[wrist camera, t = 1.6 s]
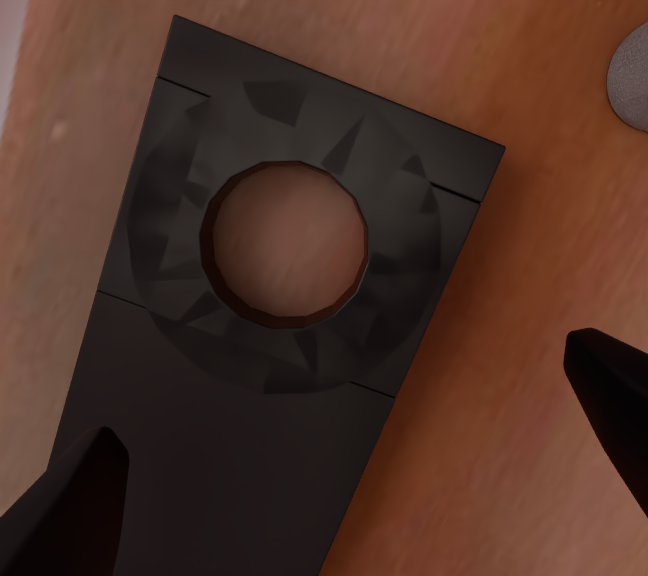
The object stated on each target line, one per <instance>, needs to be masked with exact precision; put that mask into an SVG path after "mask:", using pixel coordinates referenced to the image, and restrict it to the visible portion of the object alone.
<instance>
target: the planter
mask: <svg viewBox="0 0 648 576" xmlns="http://www.w3.org/2000/svg"><path fill="white" fill-rule="evenodd" d="M607 92H608V97H609V100H610V103H611V105H612V107H613V109H614V111H615V112H616V114H617V115H618V116H619V117H620V118H621V119H622V120H623V121H624V122H625V123H627V124H628V125H630V126H632V127H634V128H636V129H639V130H643V131H648V22H646V23H644V24H643V25H641V26H640V27H638V28H637V29H635V30H634V31H633V32H632V33H630V34H629V35H628V36H627V37H626V38H625V39H624V40H623V41H622V43H621V44H620V45H619V47H618V48H617V50H616V52H615V53H614V55H613V57H612V60H611V63H610V66H609V69H608V74H607Z"/></svg>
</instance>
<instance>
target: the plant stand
mask: <svg viewBox="0 0 648 576" xmlns="http://www.w3.org/2000/svg"><path fill="white" fill-rule="evenodd" d="M157 76H158V77H156V79H155V83H154V86H153V90H152V93H151V97H150V101H149V104H148V108H147V111H146V115H145V119H144V122H143V126H142V129H141V133H140V136H139V140H138V144H137V147H136V151H135V154H134V158H133V162H132V165H131V169H130V172H129V176H128V180H127V183H126V187H125V190H124V194H123V197H122V201H121V205H120V208H119V212H118V215H117V219H116V223H115V226H114V230H113V233H112V237H111V240H110V244H109V248H108V251H107V255H106V258H105V262H104V266H103V269H102V273H101V276H100V280H99V283H98V287H97V291H96V294H95V298H94V302H93V305H92V309H91V312H90V316H89V320H88V323H87V327H86V330H85V334H84V337H83V341H82V345H81V348H80V352H79V355H78V359H77V363H76V366H75V370H74V373H73V377H72V381H71V384H70V388H69V391H68V395H67V398H66V402H65V406H64V409H63V413H62V416H61V420H60V424H59V427H58V431H57V434H56V438H55V441H54V445H53V449H52V452H51V456H50V459H49V463H48V467H47V469H48V468H49V467H50V466H51V465H52V464H53V463H54V462H55V461H56V460H57V459H58V458H59V457H60V456H61V455H62V454H63V453H64V452H65V451H66V450H67V449H68V448H69V447H70V446H71V445H72V444H73V443H74V442H75V441H76V440H77V439H78V438H79V437H80V436H81V435H82V434H83V433H84V432H85V431H86V430H89V429H93V428H97V427H102V426H108V427H110V428H111V429H112V430H113V431H114V432H115V434H116V435H117V436H118V438H119V439H120V440H121V442H122V443H123V444H124V446H125V447H126V448H127V450H128V453H129V458H130V463H129V472H128V480H127V489H126V497H125V506H124V515H123V523H122V530H121V537H120V542H119V548H118V553H117V557H116V562H115V566H114V571H113V575H112V576H318V574H319V572H320V569H321V567H322V565H323V563H324V560H325V558H326V556H327V554H328V551H329V549H330V547H331V545H332V542H333V540H334V538H335V535H336V533H337V531H338V529H339V526H340V524H341V522H342V520H343V517H344V515H345V513H346V510H347V508H348V506H349V504H350V501H351V499H352V497H353V495H354V492H355V490H356V488H357V486H358V483H359V481H360V479H361V476H362V474H363V472H364V470H365V467H366V465H367V463H368V461H369V458H370V456H371V454H372V451H373V449H374V447H375V445H376V442H377V440H378V438H379V436H380V433H381V431H382V429H383V427H384V424H385V422H386V420H387V417H388V415H389V413H390V411H391V408H392V406H393V404H394V402H395V397H396V396H397V394H398V392H399V390H400V387H401V385H402V383H403V381H404V378H405V376H406V374H407V372H408V369H409V367H410V365H411V362H412V360H413V358H414V356H415V353H416V351H417V349H418V347H419V344H420V342H421V340H422V338H423V335H424V333H425V331H426V328H427V326H428V324H429V322H430V319H431V317H432V315H433V313H434V310H435V308H436V306H437V303H438V301H439V299H440V297H441V294H442V292H443V290H444V288H445V285H446V283H447V281H448V279H449V276H450V274H451V272H452V269H453V267H454V265H455V263H456V260H457V258H458V256H459V254H460V251H461V249H462V247H463V244H464V242H465V240H466V238H467V235H468V233H469V231H470V229H471V226H472V224H473V222H474V220H475V217H476V215H477V213H478V210H479V208H480V206H481V204H480V203H481V202H482V201H483V199H484V197H485V195H486V192H487V190H488V188H489V186H490V183H491V181H492V179H493V177H494V174H495V172H496V170H497V167H498V165H499V163H500V161H501V158H502V156H503V154H504V152H505V149H506V147H505V146H503V145H501V144H498V143H496V142H493V141H491V140H488V139H486V138H483V137H481V136H478V135H476V134H473V133H471V132H468V131H466V130H463V129H461V128H458V127H456V126H453V125H451V124H448V123H446V122H443V121H441V120H438V119H436V118H433V117H431V116H428V115H426V114H423V113H421V112H418V111H416V110H413V109H411V108H408V107H406V106H403V105H401V104H398V103H396V102H393V101H391V100H388V99H386V98H383V97H381V96H378V95H376V94H373V93H371V92H368V91H366V90H363V89H361V88H358V87H356V86H353V85H351V84H348V83H346V82H343V81H341V80H338V79H336V78H333V77H331V76H328V75H326V74H323V73H321V72H318V71H316V70H313V69H311V68H308V67H306V66H303V65H301V64H298V63H296V62H293V61H291V60H288V59H286V58H283V57H281V56H278V55H276V54H273V53H271V52H268V51H266V50H263V49H261V48H258V47H256V46H253V45H251V44H248V43H246V42H243V41H241V40H238V39H236V38H233V37H231V36H228V35H226V34H223V33H221V32H218V31H216V30H213V29H211V28H208V27H206V26H203V25H201V24H198V23H196V22H193V21H191V20H188V19H186V18H183V17H181V16H178V15H174V16H173V19H172V23H171V27H170V30H169V34H168V37H167V41H166V45H165V48H164V52H163V55H162V59H161V62H160V66H159V70H158V73H157ZM284 165H302V166H304V167H307V168H309V169H312V170H315V171H317V172H320V173H322V174H325V175H328V176H330V177H331V178H332V179H333V180H334V181H335V182H336V183H337V184H338V185H339V186H340V187H341V188H342V189H343V190H344V191H345V192H346V193H347V194H348V195H349V196H350V197H351V198H352V200H353V202H354V205H355V207H356V209H357V211H358V214H359V216H360V218H361V221H362V223H363V225H364V258H363V261H362V263H361V266H360V268H359V271H358V273H357V276H356V278H355V281H354V283H353V285H352V286H351V287H350V288H349V289H348V290H347V291H346V292H345V293H344V294H343V295H342V296H341V297H340V298H339V299H338V300H337V301H336V302H335V303H334V304H333V305H331V306H329V307H326V308H324V309H322V310H319V311H317V312H315V313H313V314H310V315H308V316H299V317H276V316H273V315H270V314H267V313H265V312H262V311H259V310H257V309H254V308H251V307H249V306H248V305H247V304H246V303H245V302H244V301H243V300H241V299H240V298H239V297H238V296H237V295H236V294H235V293H234V292H232V291H231V290H230V289H229V288H228V287H227V285H226V283H225V281H224V279H223V277H222V275H221V273H220V271H219V269H218V267H217V265H216V263H215V261H214V250H213V237H212V229H213V226H214V223H215V220H216V217H217V214H218V211H219V208H220V205H221V202H222V201H223V200H224V198H225V197H226V196H227V195H228V194H229V193H230V192H231V190H232V189H233V188H234V187H235V186H236V185H237V184H238V182H239V181H240V180H241V179H243V178H245V177H247V176H249V175H251V174H253V173H255V172H258V171H260V170H262V169H264V168H266V167H268V166H284Z"/></svg>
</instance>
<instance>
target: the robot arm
mask: <svg viewBox="0 0 648 576" xmlns="http://www.w3.org/2000/svg"><path fill="white" fill-rule="evenodd" d="M563 365H564V371H565V374H566V376H567V378H568V380H569V382H570V384H571V386H572V388H573V390H574V392H575V394H576V396H577V398H578V400H579V402H580V404H581V406H582V408H583V410H584V412H585V414H586V416H587V418H588V420H589V422H590V424H591V426H592V428H593V430H594V432H595V434H596V436H597V438H598V440H599V442H600V443H601V445H602V447H603V449H604V451H605V452H606V454H607V455H608V457H609V459H610V460H611V462H612V463H613V465H614V467H615V468H616V470H617V471H618V473H619V474H620V476H621V477H622V479H623V481H624V482H625V484H626V485H627V487H628V488H629V490H630V491H631V493H632V495H633V496H634V498H635V499H636V501H637V502H638V504H639V505H640V507H641V508H642V510H643V512H644V513H645V515H646V516H647V518H648V354H647V353H645V352H643V351H641V350H639V349H637V348H634V347H632V346H630V345H628V344H626V343H624V342H622V341H620V340H618V339H616V338H614V337H612V336H610V335H607V334H605V333H603V332H601V331H599V330H597V329H594V328H585V329H580V330H575V331H571V332H569V333H568V335H567V338H566V345H565V353H564V361H563ZM129 463H130V458H129V453H128V450H127V448H126V447H125V446H124V444H123V443H122V442H121V440H120V439H119V438H118V436H117V435H116V434H115V432H114V431H113V430H112V429H111V428H110V427H108V426H102V427H97V428H93V429H89V430H86V431H85V432H84V433H83V434H82V435H81V436H80V437H79V438H78V439H77V440H76V441H75V442H74V443H73V444H72V445H71V446H70V447H69V448H68V449H67V450H66V451H65V452H64V453H63V454H62V455H61V456H60V457H59V458H58V459H57V460H56V461H55V462H54V463H53V464H52V465H51V466H50V467H49V468H48V469H47V470H46V471H45V472H44V473H43V475H42V476H41V477H40V478H39V479H38V480H37V481H36V482H35V483H34V484H33V485H32V486H31V487H30V488H29V489H28V490H27V491H26V492H25V493H24V494H23V495H22V496H21V497H20V498H19V499H18V500H17V501H16V502H15V503H14V504H13V505H12V506H11V507H10V508H9V509H8V510H7V511H6V512H5V513H4V514H3V515H2V516H1V517H0V576H112V575H113V571H114V566H115V562H116V557H117V553H118V548H119V542H120V537H121V530H122V523H123V515H124V506H125V497H126V489H127V480H128V472H129Z"/></svg>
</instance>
